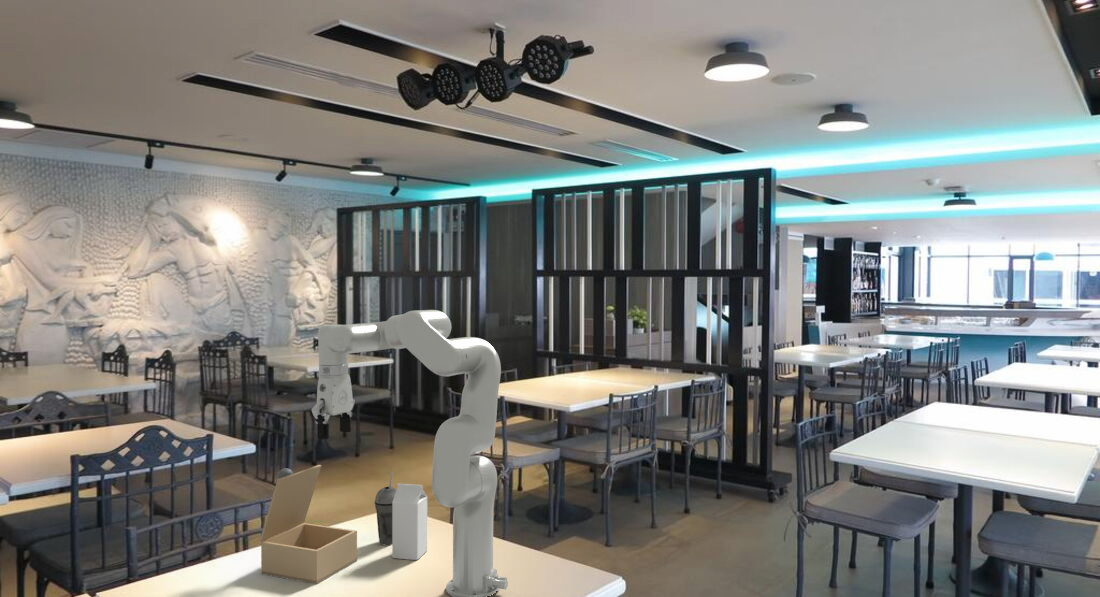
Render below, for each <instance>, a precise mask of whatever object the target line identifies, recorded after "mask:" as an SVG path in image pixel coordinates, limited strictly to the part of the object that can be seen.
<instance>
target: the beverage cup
mask: <svg viewBox="0 0 1100 597" xmlns="http://www.w3.org/2000/svg"><path fill="white" fill-rule="evenodd" d="M393 474H394V471H391V472H390V477H389V478H390V479H389V486H384V487H381V489H379V490H378V491H377V493H376V496H375V498H374V507H375V510H376V512H375V513H376V523H377V533H378V540H379V544H380V545H382V546H392V502H393V499H394V496H395V494H396V491H397V488H394V487H393V486H392V483H393Z"/></svg>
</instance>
